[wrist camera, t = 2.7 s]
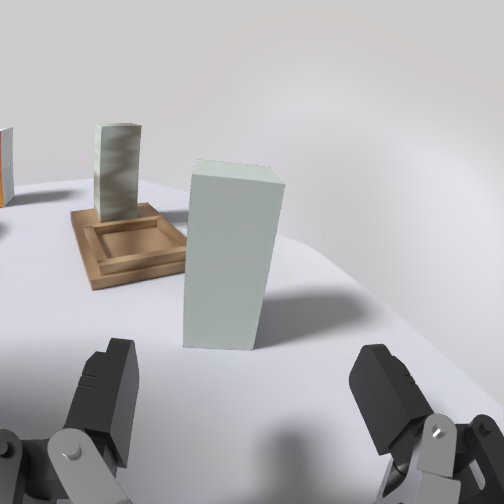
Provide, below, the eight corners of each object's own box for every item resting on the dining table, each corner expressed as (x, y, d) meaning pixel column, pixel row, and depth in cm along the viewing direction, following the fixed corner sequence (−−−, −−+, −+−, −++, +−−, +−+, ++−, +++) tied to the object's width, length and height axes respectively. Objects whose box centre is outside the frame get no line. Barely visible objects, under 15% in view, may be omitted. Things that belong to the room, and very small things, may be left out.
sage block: (182, 346, 21) (191, 174, 16) (186, 305, 25) (197, 159, 20) (252, 350, 21) (285, 184, 16) (245, 309, 26) (269, 167, 21)
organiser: (92, 290, 24) (84, 138, 19) (70, 218, 37) (70, 125, 32) (207, 266, 31) (221, 137, 26) (147, 208, 44) (152, 122, 39)
